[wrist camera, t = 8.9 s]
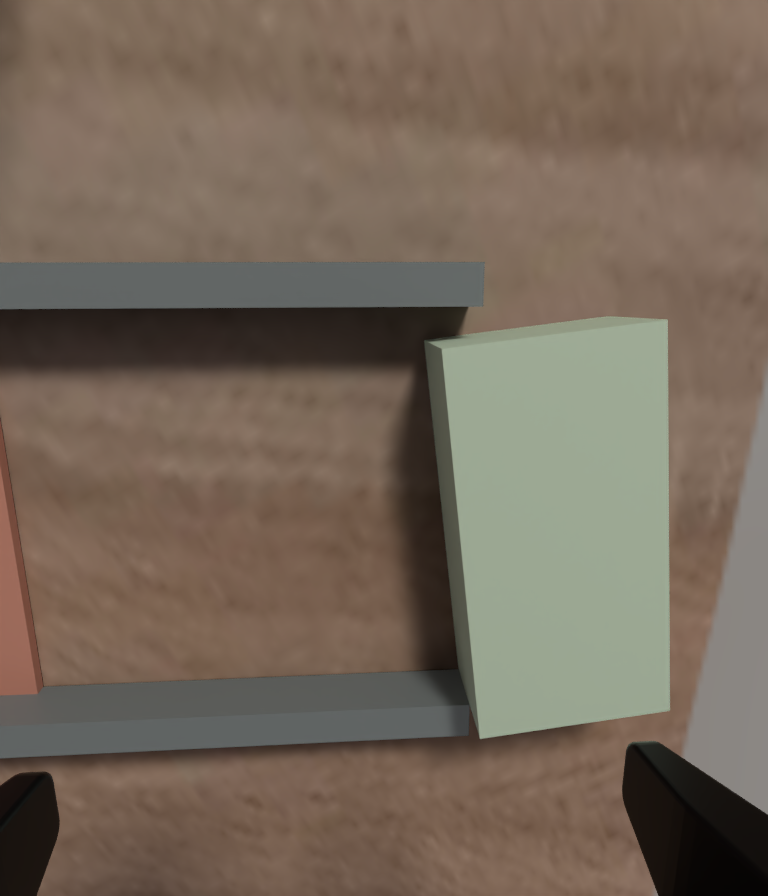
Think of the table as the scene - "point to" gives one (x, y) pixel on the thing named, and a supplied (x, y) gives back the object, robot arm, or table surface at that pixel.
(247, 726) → the channel
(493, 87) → the table surface
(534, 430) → the block
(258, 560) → the table surface
